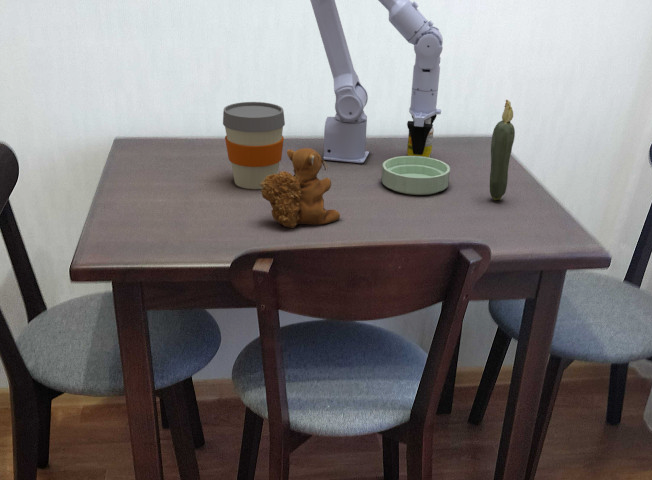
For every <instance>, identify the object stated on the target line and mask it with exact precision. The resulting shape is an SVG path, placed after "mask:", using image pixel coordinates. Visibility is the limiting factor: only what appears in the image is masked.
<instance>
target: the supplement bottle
mask: <svg viewBox="0 0 652 480" xmlns="http://www.w3.org/2000/svg"><path fill="white" fill-rule="evenodd" d="M414 120H415V119H414V117H413V119H412V121H414ZM425 122H426V123H425V124H431V118H430V117H429V118H427V119H425ZM434 130H435V129H434V126H433V127H432V129H431V130H430V132H429V134H428V137H427V140H426V144H425V148H424V152H423V154H422V155H417V154H413V150H412V140H411V135H410V132H409V131H408V135H407V146H406V147H407V149H406V156H422V157H428V158H432V151H433V142H434V141H433V140H434Z"/></svg>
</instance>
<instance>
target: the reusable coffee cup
mask: <svg viewBox="0 0 652 480" xmlns="http://www.w3.org/2000/svg"><path fill="white" fill-rule="evenodd" d="M222 112H223V113H222V126H224V128H225V130H224V131H225V136H224V140H225V146H226V153H227V156H228V158H227V159H228V161H229V162H230V165H231V170H232V175H233V181H234V184H235V185H236V186H237V187H239V188H243V189H247V190H262V189H263V188H264V187H262V186H260V185H259V183H261V182H262V180H265V178H266V177H267V176H268V175H273V174H278V173H279V166H280V162H281V161H282V157H283V149H284V148H283V147H284V139H285V138H284V136H283V131H284V130H283V129H284V126H285V125H286V122H285V112H284V108H283V107H282V106H281V105H278V104H275V103H270V102H262V101H244V102H243V101H242V102H235V103H232V104H228V105H226V106H225V107H224V108H223V111H222Z"/></svg>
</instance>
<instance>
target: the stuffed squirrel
mask: <svg viewBox="0 0 652 480" xmlns="http://www.w3.org/2000/svg"><path fill="white" fill-rule="evenodd" d="M286 155H287V157H288V158H289V160H290V161H291V163H292V167H293V173H294V175H293V174H291V173H290V172H289V171H285V170H280V171H278V174H273V175H268V176H267V177H266V178H265V180H262V182H261V183H259V185H260V186H262V187H264V188H263V189H260V193H261V196H262V198H263V199H264V200H266V201H268V202H269V203H270V206H271V208H272V209H271V210H270V211H271V215H272V218H273V220H274V221H276V222H277V223H279V224H280V225H282V226H283V227H287V228H289V229H295V227H296V226H297V225H301V224H303V225H327V224H329V223H332V222H335V221H338V220H339V219H340V217H341V213H340V212H339V211H338V210H336V209H325V200H324V199H325V198H323V197H324V195H325V193H327V192H328V191H330V189H331V187H332V180H331V179H330V178H329V177H324V178H322V179H320V178H318V174H319V173H320V171H321V169H322V168H323V167H324V171H327V169H329V167H328V165H327V163H326V161H325V160H324V159H323V158H322V156H321V154H320V153H319V152H317V150H315V149H313V148H310V147H303V148H299V149H296V150H295V151H294V150H293V149H287V150H286Z"/></svg>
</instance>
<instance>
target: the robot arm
mask: <svg viewBox="0 0 652 480" xmlns="http://www.w3.org/2000/svg"><path fill="white" fill-rule="evenodd" d="M309 1H310V4H311V6H312V11H313V15H314V17H315V22H316V24H317V27H318V31H319V35H320V38H321V41H322V44H323V48H324V51H325V55H326V59H327V62H328V65H329V68H330V71H331V75H332V79H333V91H334V96H335V103H334V110H335V115H334V116H327V117H326V119H325V123H324V132H323V156H322V160H323V161H334V162H343V163H355V164H364V163H365V161H366V160H367V158H368V156H369V154H370V151H368V150H366V146H367V143H366V142H367V127H368V126H367V125H368V116H367V114H366V113H365V111H364V108H365V107H366V106H367V103H368V100H369V96H368V92H367V90H366V88H365V87H364V86H363V85H362V83H361V82H360V78H359V76H358V74H357V72H356V70H355V67H354V63H353V61H352V57H351V54H350V49H349V46H348V43H347V39H346V35H345V32H344V28H343V25H342V21H341V18H340V14H339V10H338V7H337V4H336V0H309ZM377 1H378V2H379V3H380V4H381V5H382V6H383V7H384V8H385V9H386V10H387V11H388V22H389V23H390V24H391V25H392V26H393V27H394V28H395V30H396V31H397V32H398V33H399V34H400V35H401V37H403V38H404V39H405V41H407V43H408V44H411V45H413V51H414V54H415V58H414V59H415V61H414V65H413V69H412V71H413V72H412V83H411V93H410V94H411V95H410V107H409V108H408V112H409V114H410V115H411V119H412V120H407V122H406V125H407V129H408V133H409V132H410V135H411V140H412V150H413V154H417V155H422V154H423V152H424V148H425V144H426V140H427V137H428V134H429V132H430V130H431V129H432V127H433V128H434V122H435V120H436V119H437V115H441V114H442V109H441V108H437V103H438V94H439V93H438V92H439V83H440V74H441V66H440V64H441V54H442V52H443V44H444V41H443V39H444V38H443V35H442V34H441V32H440V29H439V28H438V27H436V26H434V22H432V21H433V20H428V19H427V18H426V17H425V16H424V15H423V13H421V11H420V10H419V9H418V7H419V4H418V3H417V2H416V1H415V0H413V2H412V1H411V0H377ZM413 117H414V119H415V120H414V121H413ZM429 117H430V118H431V124H425V123H426V122H425V119H427V118H429Z"/></svg>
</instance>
